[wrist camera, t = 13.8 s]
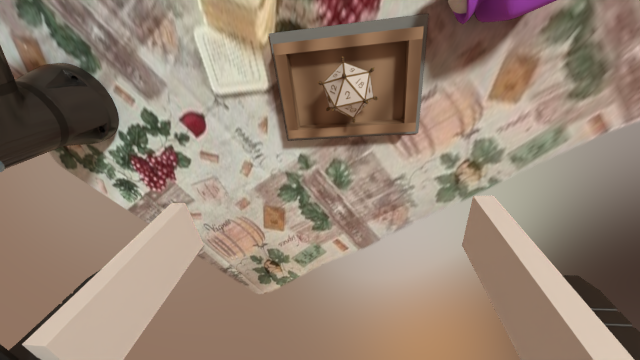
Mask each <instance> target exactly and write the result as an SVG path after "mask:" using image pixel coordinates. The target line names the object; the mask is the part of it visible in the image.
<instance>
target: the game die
mask: <svg viewBox="0 0 640 360" xmlns="http://www.w3.org/2000/svg"><path fill="white" fill-rule="evenodd" d="M341 61H342V63H341V65H340V66H339V67H338V68H337V69H336V70H335V71H334V72H333V73H332V74H331V75H330V76H329V77H328V78H327V79H326V80H325V81H324V82H322V81H319V82H317V83H318V84H319V85H323V88H324V91H325V95H326V98H327V102H328V105H329V107H327V108H326V111H329V110H330V109H332V111H337V112H340V113H342V114H344V115H347V116H349V117H351V118H352V122H353V123H355V121H356V120H355V118H354V117H355V116H356V115H357V114H358V113H359V112H360V111H361V110H362V109H363V108H364V107H365V106H366V105H367V104H368V103H369V102H370V101H371V100H372V99H374V100H378V98H377V97H376V96H375V97H374V96H373V89H372V82H371V75H370V73H371V72H373V71H374V68H375V67H374V68H371V69H370V70H369V71H367V70H365V69H362V68H359V67H356V66H354V65H351V64H348V63H345V62H344V61H345V60H344V57H343V56H342V58H341Z"/></svg>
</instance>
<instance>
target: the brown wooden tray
mask: <svg viewBox="0 0 640 360" xmlns="http://www.w3.org/2000/svg"><path fill="white" fill-rule="evenodd" d="M423 29H424V26H421V27H413V28H404V29H396V30H387V31H379V32H371V33H362V34H354V35H345V36H337V37H329V38H320V39H312V40H303V41H295V42H287V43H278V44H273V49H274V55H275V61H276V67H277V73H278V78H279V84H280V90H281V96H282V101H283V107H284V113H285V119H286V125H287V130H288V136H289V139H294V138H311V137H328V136H345V135H362V134H379V133H396V132H413V131H415V128H416V116H417V103H418V91H419V79H420V66H421V54H422V41H423ZM342 56H343V57H344V60H345V61H344V62H345V63H348V64H351V65H354V66H356V67H359V68H362V69H365V70H367V71H369V70H370V69H371V68H374V67H375V68H374V71H373V72H371V73H370V75H371V82H372V89H373V96H374V97H375V96H376V97H377V98H378V100H374V99H372V100H371V101H370V102H369V103H368V104H367V105H366V106H365V107H364V108H363V109H362V110H361V111H360V112H359V113H358V114H357V115H356V116H355V117H354V118H355V120H356V121H355V123H353V122H352V118H351V117H349V116H347V115H344V114H342V113H340V112H337V111H332V109H330V110H329V111H326V108H327V107H329V105H328V102H327V98H326V95H325V91H324V88H323V85H319V84H318V83H317V82H319V81H322V82H324V81H325V80H326V79H327V78H328V77H329V76H330V75H331V74H332V73H333V72H334V71H335V70H336V69H337V68H338V67H339V66H340V65H341V63H342V61H341V58H342Z"/></svg>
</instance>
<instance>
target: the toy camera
mask: <svg viewBox="0 0 640 360" xmlns="http://www.w3.org/2000/svg"><path fill="white" fill-rule="evenodd" d="M554 1H556V0H448V3H449V6H450V8H451V9H452V10H453V13H454V15H455V17H456V19H457V20H458V21H459V22H460V23H461V24H464V23H466V22H467V21H468V20H469V18H470V17H471V16H472V15H473V13H474V12H475V15H476V18H477V19H478V20H479V21H481V22H495V21H505V20H510V19H513V18H516V17H519V16H521V15H524V14H526V13H529V12H531V11H533V10H536V9H538V8H540V7H542V6H545V5H547V4H549V3H552V2H554Z"/></svg>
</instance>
